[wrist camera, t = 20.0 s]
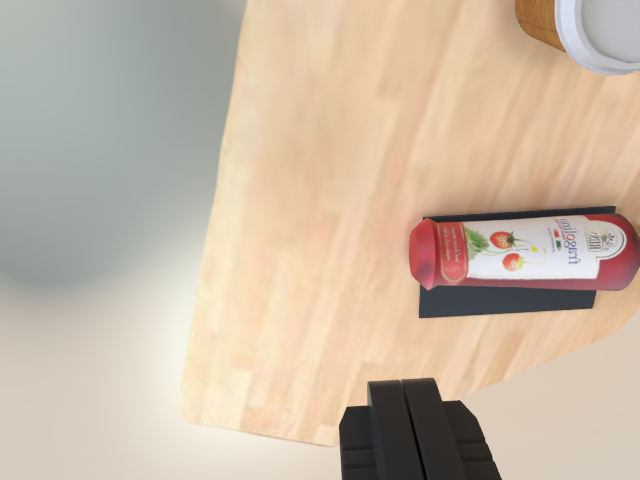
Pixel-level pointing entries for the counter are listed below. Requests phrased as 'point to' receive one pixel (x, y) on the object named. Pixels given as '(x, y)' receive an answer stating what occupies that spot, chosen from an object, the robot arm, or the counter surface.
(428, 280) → the liquor
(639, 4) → the disposable coffee cup
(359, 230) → the counter surface
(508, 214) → the mat
